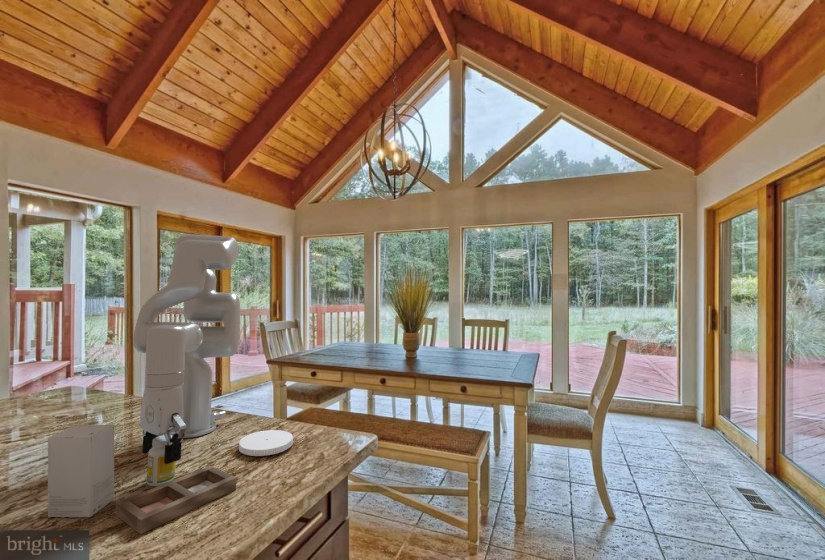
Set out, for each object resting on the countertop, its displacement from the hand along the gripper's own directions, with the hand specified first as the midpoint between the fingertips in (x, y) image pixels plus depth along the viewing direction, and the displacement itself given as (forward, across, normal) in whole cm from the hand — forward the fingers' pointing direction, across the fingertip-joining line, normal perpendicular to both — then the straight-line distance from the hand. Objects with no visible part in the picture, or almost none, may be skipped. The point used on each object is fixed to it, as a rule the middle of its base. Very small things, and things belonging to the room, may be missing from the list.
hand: (161, 456), depth 86 cm
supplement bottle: (+6, -1, +1) cm, 6 cm away
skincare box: (+6, -2, -14) cm, 15 cm away
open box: (+6, +11, -2) cm, 13 cm away
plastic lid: (+6, +3, +26) cm, 26 cm away
